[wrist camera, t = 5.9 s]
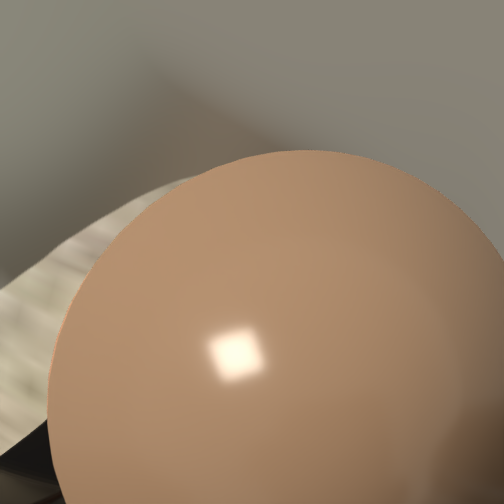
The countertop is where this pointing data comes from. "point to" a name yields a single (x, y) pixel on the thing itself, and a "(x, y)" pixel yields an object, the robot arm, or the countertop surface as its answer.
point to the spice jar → (286, 345)
